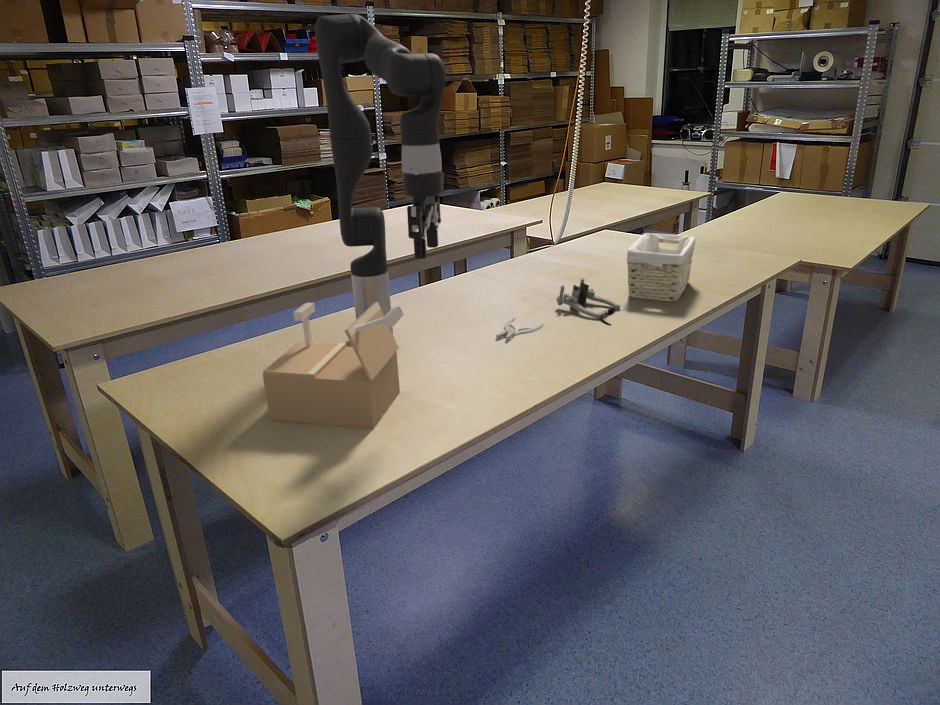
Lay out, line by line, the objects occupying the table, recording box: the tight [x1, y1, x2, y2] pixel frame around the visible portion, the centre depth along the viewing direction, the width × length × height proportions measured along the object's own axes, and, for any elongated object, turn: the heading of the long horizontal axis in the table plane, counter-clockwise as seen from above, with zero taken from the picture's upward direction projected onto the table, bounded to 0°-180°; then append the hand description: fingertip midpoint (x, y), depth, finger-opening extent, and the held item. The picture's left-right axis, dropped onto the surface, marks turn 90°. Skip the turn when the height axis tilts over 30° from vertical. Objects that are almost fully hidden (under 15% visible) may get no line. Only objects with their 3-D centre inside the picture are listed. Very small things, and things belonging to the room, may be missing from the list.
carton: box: [262, 302, 401, 430], centre depth 134 cm, size 16×22×19 cm
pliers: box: [495, 317, 545, 342], centre depth 173 cm, size 10×2×15 cm
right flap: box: [344, 302, 405, 381], centre depth 128 cm, size 16×11×9 cm
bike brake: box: [556, 278, 622, 326], centre depth 185 cm, size 14×7×20 cm
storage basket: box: [626, 232, 696, 303], centre depth 198 cm, size 24×16×15 cm
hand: (426, 252), depth 132 cm, fingers open, 8 cm apart
